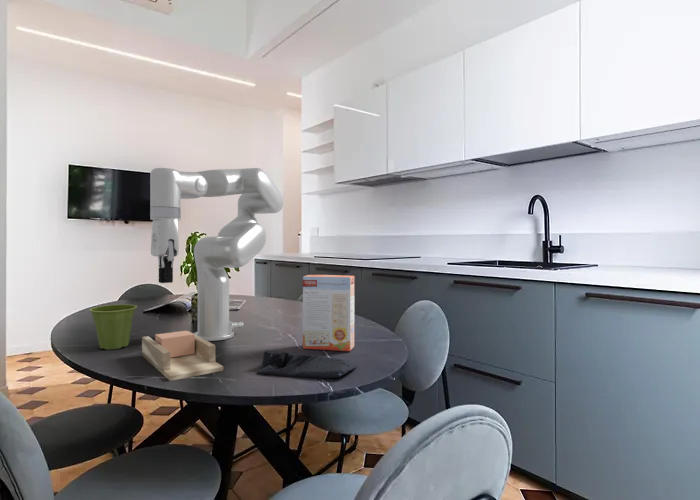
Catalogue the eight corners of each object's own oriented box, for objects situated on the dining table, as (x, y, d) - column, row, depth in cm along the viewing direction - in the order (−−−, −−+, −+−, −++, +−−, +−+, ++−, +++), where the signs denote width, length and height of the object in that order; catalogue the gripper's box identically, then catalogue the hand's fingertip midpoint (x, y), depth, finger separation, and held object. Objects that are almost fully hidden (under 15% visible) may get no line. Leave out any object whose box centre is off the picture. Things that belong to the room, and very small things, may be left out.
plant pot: (83, 346, 120) (83, 307, 120) (128, 340, 129) (128, 303, 129) (97, 354, 112) (97, 312, 112) (143, 346, 121) (143, 307, 121)
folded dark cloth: (340, 386, 91) (341, 364, 91) (251, 375, 98) (251, 355, 98) (361, 366, 105) (362, 347, 105) (282, 358, 112) (282, 340, 112)
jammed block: (187, 349, 114) (187, 330, 114) (194, 353, 109) (194, 334, 109) (155, 353, 109) (155, 334, 109) (161, 359, 104) (161, 338, 104)
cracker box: (354, 347, 123) (355, 275, 122) (350, 352, 117) (350, 276, 116) (308, 344, 126) (309, 273, 125) (301, 349, 120) (302, 275, 119)
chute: (188, 348, 119) (188, 331, 119) (223, 370, 100) (223, 349, 100) (142, 355, 112) (142, 337, 112) (170, 380, 92) (170, 358, 92)
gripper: (143, 215, 118) (143, 281, 118) (158, 212, 106) (158, 285, 107) (171, 216, 123) (171, 279, 123) (188, 214, 111) (189, 284, 111)
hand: (165, 282), depth 115 cm, fingers closed
